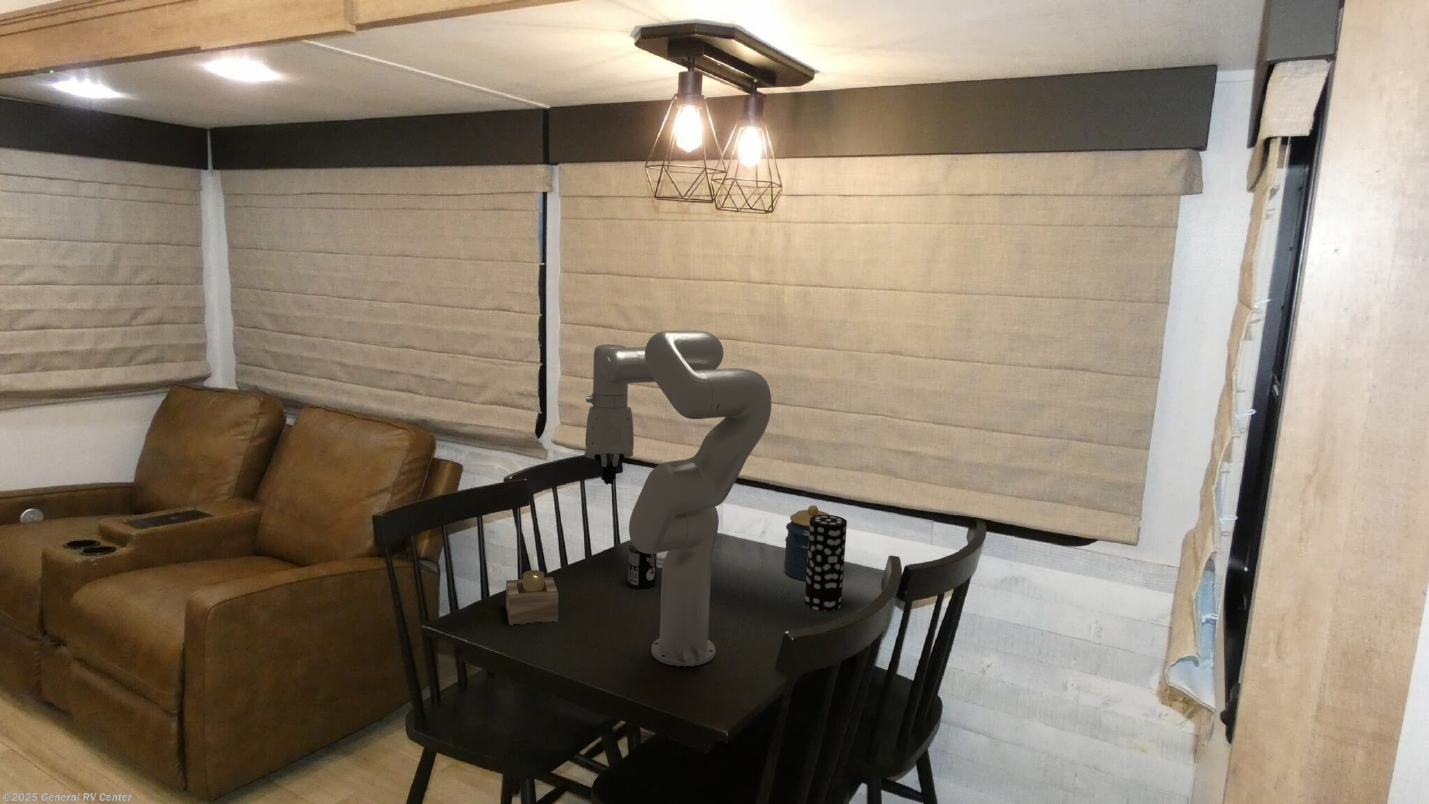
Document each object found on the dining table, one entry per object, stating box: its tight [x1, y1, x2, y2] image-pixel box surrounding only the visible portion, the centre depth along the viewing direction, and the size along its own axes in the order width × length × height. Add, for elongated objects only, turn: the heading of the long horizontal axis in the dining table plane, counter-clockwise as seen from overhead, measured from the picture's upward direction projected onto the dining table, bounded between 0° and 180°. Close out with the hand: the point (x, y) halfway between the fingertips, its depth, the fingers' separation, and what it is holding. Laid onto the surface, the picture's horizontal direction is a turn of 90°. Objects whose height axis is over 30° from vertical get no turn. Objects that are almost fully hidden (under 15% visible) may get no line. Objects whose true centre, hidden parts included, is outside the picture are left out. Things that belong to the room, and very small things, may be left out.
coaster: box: [656, 551, 668, 569], centre depth 216 cm, size 10×10×4 cm
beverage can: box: [627, 538, 657, 589], centre depth 200 cm, size 7×7×12 cm
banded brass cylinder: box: [522, 569, 545, 593], centre depth 181 cm, size 4×4×8 cm
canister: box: [783, 504, 830, 581], centre depth 212 cm, size 13×13×18 cm
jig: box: [505, 576, 559, 626], centre depth 181 cm, size 10×10×6 cm
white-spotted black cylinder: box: [804, 514, 848, 612], centre depth 193 cm, size 8×8×20 cm
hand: (608, 482), depth 187 cm, fingers closed
